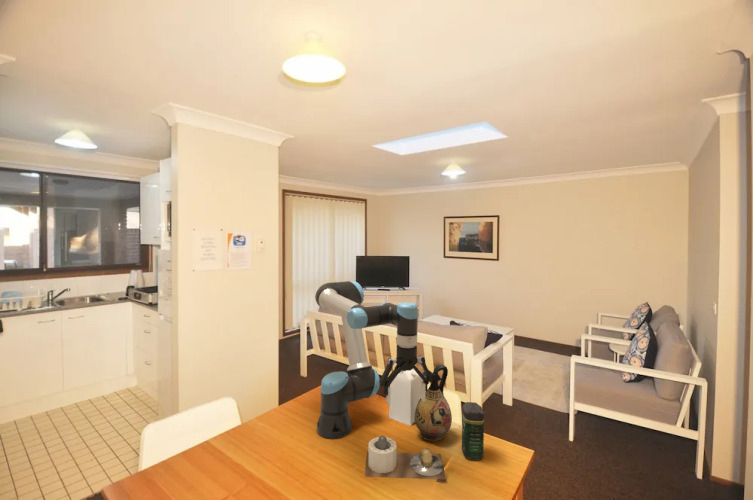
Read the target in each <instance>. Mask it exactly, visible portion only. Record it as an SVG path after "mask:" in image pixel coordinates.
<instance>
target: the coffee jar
mask: <svg viewBox="0 0 753 500" xmlns="http://www.w3.org/2000/svg"><path fill="white" fill-rule="evenodd" d="M461 408H462V409H461V411H462V413H461V414H462V415H461V417H462V419H461V421H462V422H461V423H462V424H461V450H462V451H461V452H462V454H463V457H465V458H466V459H469V460H472V461H479V460H482V459H483V458H484V445H485V444H484V443H485V442H484V440H485V439H484V438H485V437H484V436H485V434H484V433H485V412H484V409H483V407H482V406H481V405H479V404H478V403H477V402H472V401H467V402H465V403H464V404H462V407H461Z"/></svg>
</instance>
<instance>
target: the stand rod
mask: <svg viewBox="0 0 753 500" xmlns="http://www.w3.org/2000/svg"><path fill="white" fill-rule="evenodd" d="M378 437H379V439H378V449H379V450H386V449H387V439H386V437H387V436H385V435H380V436H378Z"/></svg>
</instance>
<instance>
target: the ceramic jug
mask: <svg viewBox="0 0 753 500" xmlns="http://www.w3.org/2000/svg"><path fill="white" fill-rule="evenodd" d="M440 371H442V375H441V376H440V375H439V372H440ZM429 372H430V374H431V377H432V379H433V380H432V381H429V384H430V385H429V386H428V387H427V391H425V401H423V400H422V399H421V398H420V400H419V402H418V404H417V406H416V410H415V422H414V423H415V426H416V428H417V429H418V430H419V432H420V435H421V438H422V439H424V440H425V441H429V442H438V441H441V440H442V439H443V438H444V436H445V435H446V433H447V432H449V430H450V428H451V426H452V420H453V419H452V418H453V417H452V416H453V415H452V411H451V407H450V403H449V402H448V400H447V399H446V397H445V395H444V390H445V389H444V388H445V385H446V381H447V378H448V374H449V370H448V367H447V366H446V365H444V364H438V365H436V366H435V367H434V369H433V371H431V370H429ZM422 374H423V375H424V377H425V378H426V377H427V376H426V374H425V372H424V371H423V372H422Z"/></svg>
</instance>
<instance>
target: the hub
mask: <svg viewBox="0 0 753 500" xmlns="http://www.w3.org/2000/svg"><path fill="white" fill-rule="evenodd" d="M420 453H421V454H419V455H416V456H414V457H413V458H412V459H411V461H410V467H411V469H412V470H413V471H414V472H415V473H417V474H419V475H421V476H426V477H433V476H437V475H439V474H440V473H441V472H442V471H443V468H444V469H445V467H444V463H442V462H443V460H442V461H441V460H440V459H439V458H437V457H436V456H433V455H432V453H433V451H432V450H431V449H430V448H428V447H425V448H422V450H421V452H420Z"/></svg>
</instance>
